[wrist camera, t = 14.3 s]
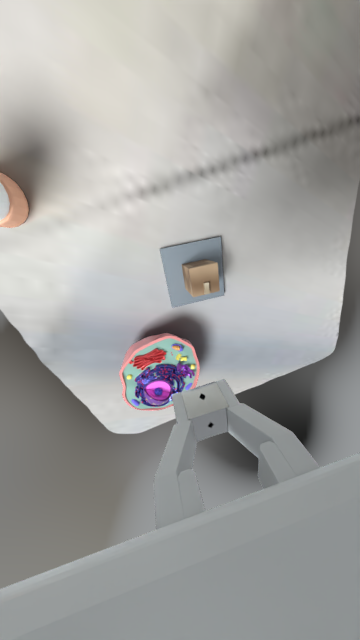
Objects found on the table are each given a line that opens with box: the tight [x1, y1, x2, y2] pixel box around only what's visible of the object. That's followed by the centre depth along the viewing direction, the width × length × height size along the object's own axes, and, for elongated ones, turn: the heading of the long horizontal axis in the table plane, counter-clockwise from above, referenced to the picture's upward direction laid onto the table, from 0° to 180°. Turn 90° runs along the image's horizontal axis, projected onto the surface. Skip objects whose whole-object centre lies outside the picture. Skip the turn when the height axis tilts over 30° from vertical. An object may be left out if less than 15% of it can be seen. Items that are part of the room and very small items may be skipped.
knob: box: [181, 259, 220, 297], centre depth 32 cm, size 5×5×7 cm
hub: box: [160, 237, 224, 308], centre depth 34 cm, size 12×12×6 cm
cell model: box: [120, 333, 200, 411], centre depth 38 cm, size 17×20×11 cm
